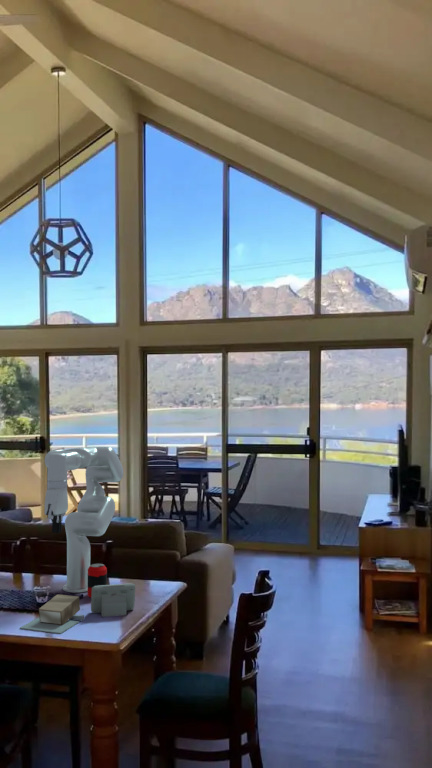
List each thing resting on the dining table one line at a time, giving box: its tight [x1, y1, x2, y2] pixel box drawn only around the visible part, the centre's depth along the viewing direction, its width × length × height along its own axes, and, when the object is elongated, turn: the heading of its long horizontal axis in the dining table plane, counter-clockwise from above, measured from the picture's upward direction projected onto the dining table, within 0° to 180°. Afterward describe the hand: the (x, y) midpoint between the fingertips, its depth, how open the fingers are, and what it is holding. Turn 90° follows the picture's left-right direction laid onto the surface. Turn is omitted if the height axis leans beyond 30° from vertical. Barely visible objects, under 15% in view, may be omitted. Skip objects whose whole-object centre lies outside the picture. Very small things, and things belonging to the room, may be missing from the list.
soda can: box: [87, 563, 108, 599], centre depth 261 cm, size 8×8×12 cm
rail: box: [69, 613, 85, 622], centre depth 233 cm, size 2×16×2 cm, turn 71°
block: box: [38, 593, 81, 625], centre depth 231 cm, size 5×9×12 cm
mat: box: [19, 617, 80, 635], centre depth 225 cm, size 12×16×1 cm
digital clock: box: [90, 583, 136, 618], centre depth 239 cm, size 16×9×11 cm, turn 93°
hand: (56, 532), depth 251 cm, fingers closed
